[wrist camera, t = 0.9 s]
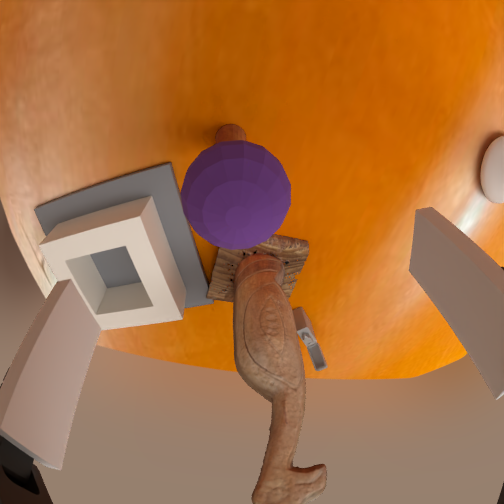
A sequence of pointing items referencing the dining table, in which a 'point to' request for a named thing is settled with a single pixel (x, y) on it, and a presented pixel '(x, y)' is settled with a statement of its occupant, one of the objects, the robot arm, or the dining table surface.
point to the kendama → (235, 192)
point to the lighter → (309, 338)
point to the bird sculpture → (271, 357)
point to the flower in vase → (493, 171)
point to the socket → (126, 249)
